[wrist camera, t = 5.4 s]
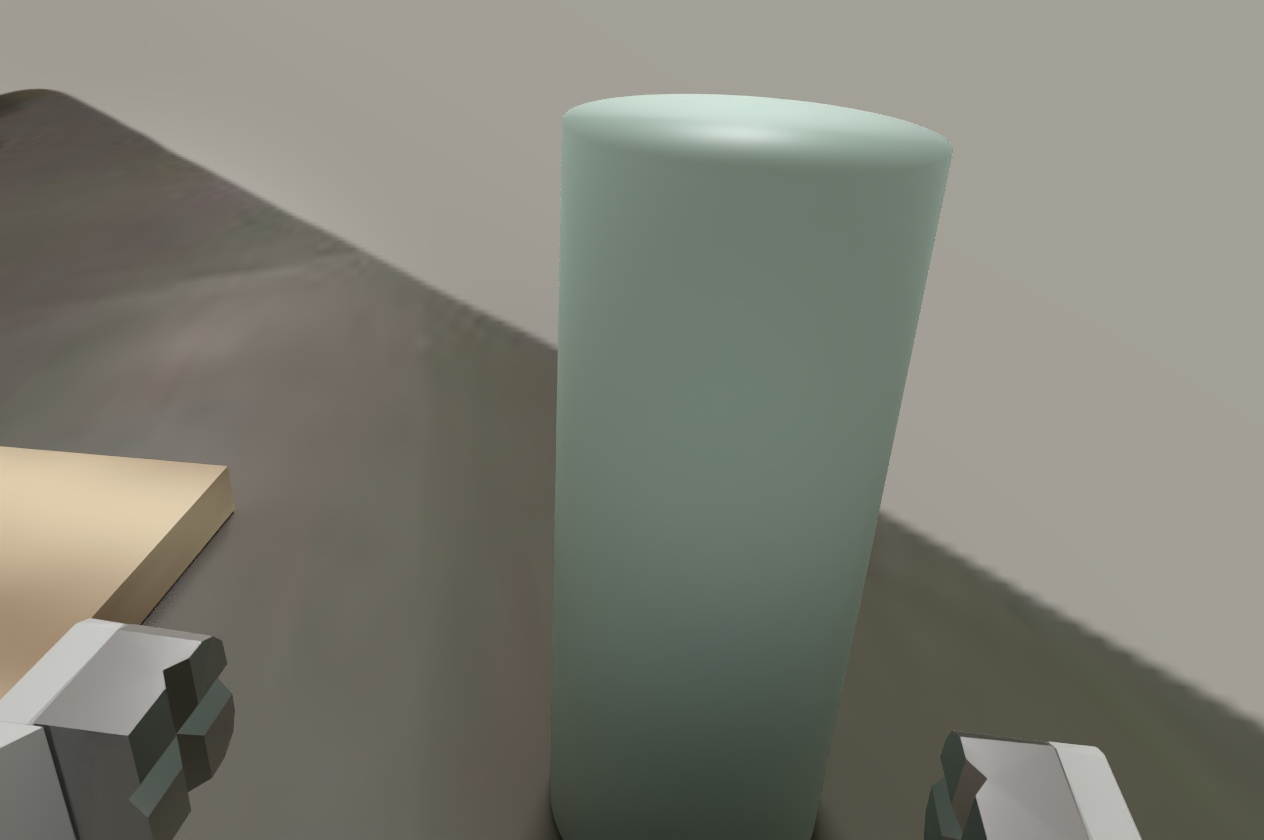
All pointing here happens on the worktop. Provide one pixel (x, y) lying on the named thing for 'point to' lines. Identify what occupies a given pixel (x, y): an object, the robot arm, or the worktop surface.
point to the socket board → (94, 541)
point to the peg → (722, 446)
